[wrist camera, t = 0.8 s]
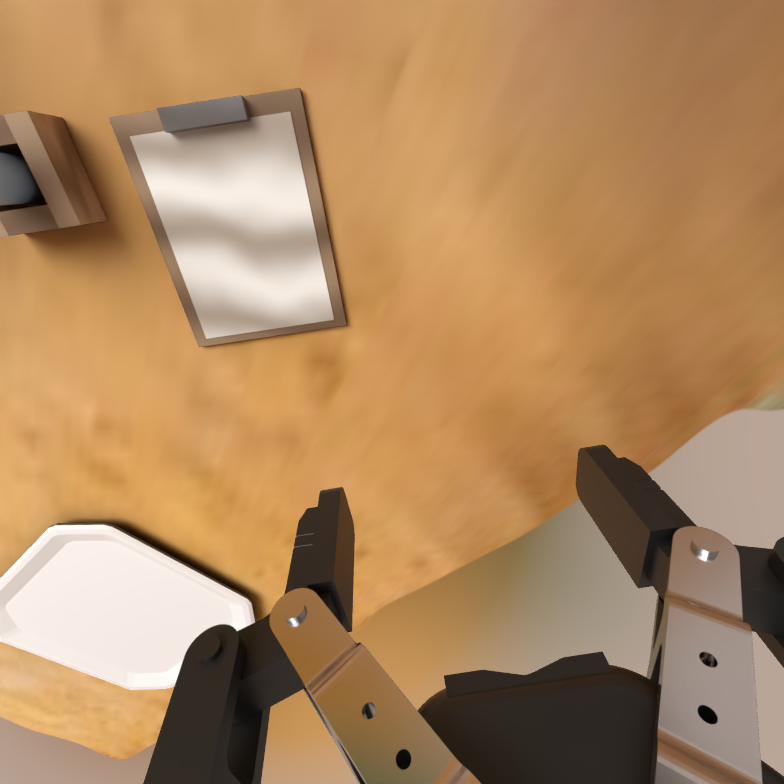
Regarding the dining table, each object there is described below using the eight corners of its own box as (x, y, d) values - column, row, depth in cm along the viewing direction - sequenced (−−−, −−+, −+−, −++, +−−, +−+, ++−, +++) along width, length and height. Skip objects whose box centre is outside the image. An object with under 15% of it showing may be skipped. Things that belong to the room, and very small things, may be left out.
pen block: (-31, 132, 29) (-78, 127, 26) (62, 117, 29) (26, 110, 26) (23, 233, 33) (-13, 239, 30) (107, 220, 33) (80, 225, 30)
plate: (279, 601, 57) (276, 616, 55) (162, 685, 65) (155, 701, 63) (81, 492, 46) (68, 506, 44) (-31, 609, 54) (-46, 626, 52)
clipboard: (112, 118, 29) (100, 115, 28) (300, 89, 29) (297, 84, 28) (200, 345, 38) (194, 351, 37) (346, 323, 38) (345, 328, 36)
